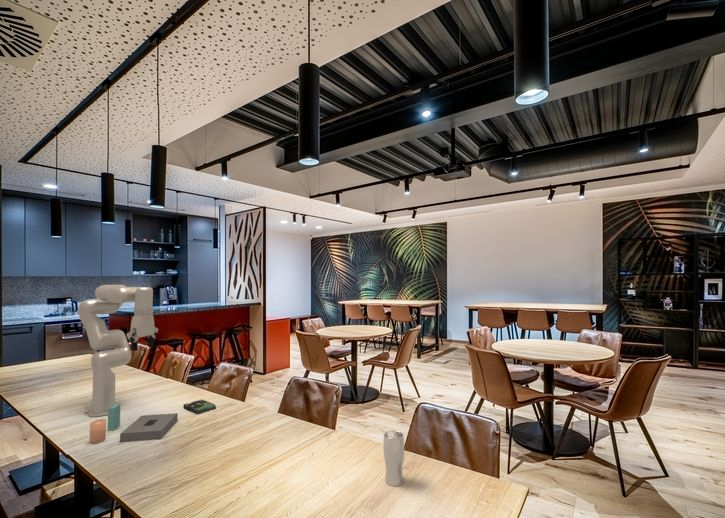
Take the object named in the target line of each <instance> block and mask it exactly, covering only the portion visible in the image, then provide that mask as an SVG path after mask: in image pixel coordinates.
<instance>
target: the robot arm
mask: <svg viewBox="0 0 725 518" xmlns="http://www.w3.org/2000/svg"><path fill="white" fill-rule="evenodd" d="M94 295H95V298H92V299H91V298H90V299H85V300H83V301H81V302H80V304H79V305H78V309H77V310H78V312H77V313H78V316H79V319H80V322H81V323H82V325H83V326H84V328H85V331H86V334H87V338H88V343H89V345H90V348H91V349H92V350H94V351H97V352H95V353H93V355H92V356H91V359H90V363H91V369H92V395H91V397H92V398H91V402H92V403H91V404H84V407H83V411H88V410H89V411H88V412H87V415H88V417H91V418H92V417H95V418H96V417H103V416H108V408H110V407H111V406H113V405H114V404H116V374H115V373H114V371H113V370H112V369H113V368H117V367H121V366H125V365H128V364H129V363H130V362H131V360H132V354H131V353H132V352H137V351H138V348H139V347H138V345H139V344H138V342H137V341H139V339H140V338H145V337H148V338H147V347H149V348H153V347H155V339H156V337H157V335H158V332H159V328H157V327H156V326H155V318H154V314H153V313H154V310H153V306H154V305H153V304H154V303H153V302H154V289H153V288H152V287H147V286H146V287H144V286H143V287H142V286H126V285H125V284H103V285H99V286H98V287H97V288H96V289H95V292H94ZM127 303H128V304H129V303H134V310H133V311H134V312H133V316H132V318H131V321H130V330H129V331H128V332H127V333H126V334H125V332H124V331H123V330H121V329H111V330H109V329H108V328H107V326H106V323H105V321H104V320H103V319H101V317H99V316H97V315H106V314H107V315H108V314H115V313H116V312H118V311H119V310H120V309H121V307H122V306H123V304H127ZM128 341H129V342H128ZM128 343H130V346H129V344H128ZM131 351H132V352H131Z"/></svg>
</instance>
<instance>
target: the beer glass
mask: <svg viewBox="0 0 725 518" xmlns="http://www.w3.org/2000/svg"><path fill="white" fill-rule="evenodd" d="M382 446H383V457H384V462H385V469H386V471H385V478H384V479H385V484H387V485H389V486H391V487H399V486H401V485H403V484H404V475H403V464H404V457H405V440H404V434H403V432H401V431H398V430H388V431H386V432H384V434H383V445H382Z"/></svg>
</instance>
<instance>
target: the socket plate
mask: <svg viewBox="0 0 725 518" xmlns="http://www.w3.org/2000/svg"><path fill="white" fill-rule="evenodd" d="M178 415H179V414H178V412H175V413H159V414H146V415H141V416H139V417H138V418H137V419H136V420H135V421H133V422H132V423H131V424H130V425H128V426H127V427H126V428H125V429H124V430H123V431H121V432H120V433H119V443H123V442H124V443H125V442H126V443H129V442H139V441H141V442H142V441H153V440H161V439H162V438H163V437H165V435H166V434H167V433H168V431H170V430H171V428H172V427H173V426H174V425H175V424H176V423H177V422H178V417H179V416H178Z"/></svg>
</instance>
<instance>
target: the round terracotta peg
mask: <svg viewBox="0 0 725 518" xmlns="http://www.w3.org/2000/svg"><path fill="white" fill-rule="evenodd" d="M106 433H107V419H104V418H102V419H96V420H93V421H91V422H90V423H89V445H96V444H101V443H103V442H105V441H106V440H105V439H106V438H107V436H106V435H107V434H106ZM104 440H105V441H104ZM100 442H101V443H100Z"/></svg>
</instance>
